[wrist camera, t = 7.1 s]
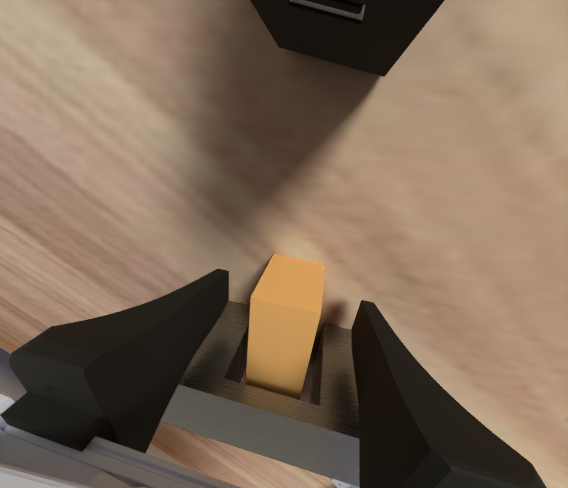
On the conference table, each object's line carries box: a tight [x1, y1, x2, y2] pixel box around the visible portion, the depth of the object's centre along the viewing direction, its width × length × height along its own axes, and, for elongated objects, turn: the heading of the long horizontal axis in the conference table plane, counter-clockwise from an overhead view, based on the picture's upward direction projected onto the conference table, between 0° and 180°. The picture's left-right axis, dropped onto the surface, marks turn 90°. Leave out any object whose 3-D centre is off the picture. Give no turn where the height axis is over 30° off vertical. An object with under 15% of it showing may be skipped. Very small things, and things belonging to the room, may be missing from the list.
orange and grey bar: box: [246, 254, 325, 400], centre depth 14 cm, size 13×3×4 cm, turn 174°
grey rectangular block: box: [160, 301, 359, 487], centre depth 13 cm, size 4×12×6 cm, turn 84°
